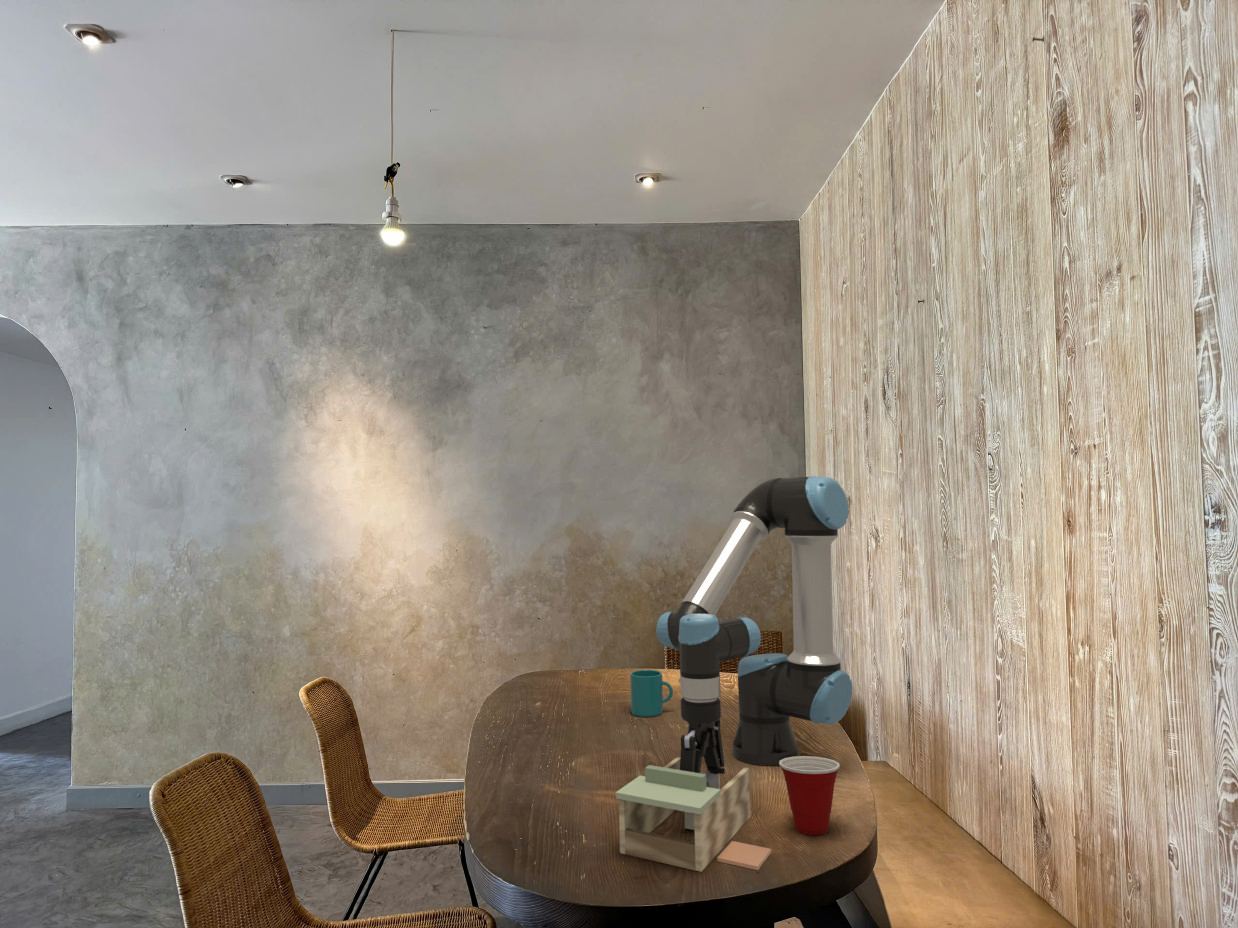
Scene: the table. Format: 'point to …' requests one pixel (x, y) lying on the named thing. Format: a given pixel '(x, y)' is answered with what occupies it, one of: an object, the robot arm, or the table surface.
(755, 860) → the terracotta coaster
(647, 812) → the wooden box
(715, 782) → the slate block
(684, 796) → the cover
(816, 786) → the plastic cup
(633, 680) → the cup
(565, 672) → the table surface
